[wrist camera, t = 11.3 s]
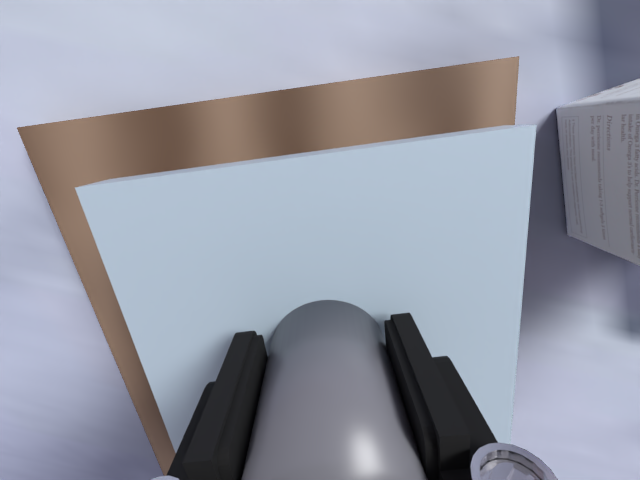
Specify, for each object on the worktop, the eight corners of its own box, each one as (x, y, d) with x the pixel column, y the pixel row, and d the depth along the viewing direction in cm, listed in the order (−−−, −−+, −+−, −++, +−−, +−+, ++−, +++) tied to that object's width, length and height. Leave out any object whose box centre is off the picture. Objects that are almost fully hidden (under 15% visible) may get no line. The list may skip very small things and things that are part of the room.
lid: (504, 125, 10) (841, 120, 3) (488, 430, 13) (632, 685, 7) (109, 178, 10) (-225, 261, 4) (204, 459, 14) (114, 721, 8)
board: (499, 62, 15) (520, 55, 14) (481, 436, 23) (492, 457, 22) (43, 127, 16) (15, 127, 14) (179, 471, 24) (171, 495, 22)
